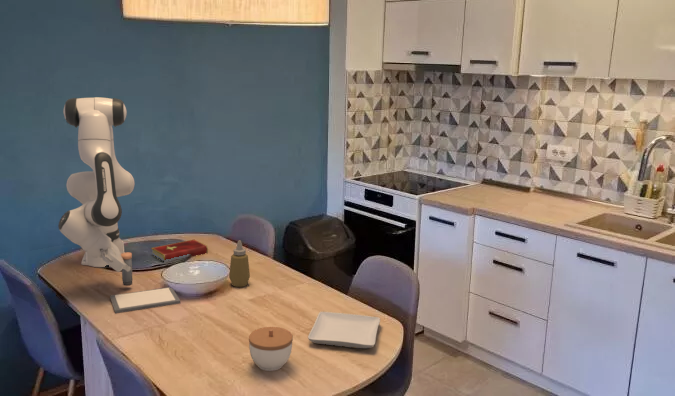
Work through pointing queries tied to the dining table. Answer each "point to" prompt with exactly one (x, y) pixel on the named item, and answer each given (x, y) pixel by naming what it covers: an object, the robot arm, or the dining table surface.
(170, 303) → the writing board
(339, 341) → the salad plate
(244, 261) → the squeeze bottle
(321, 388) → the dining table surface
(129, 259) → the marker
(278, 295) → the dining table surface
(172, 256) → the hardcover book
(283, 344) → the lidded bowl
